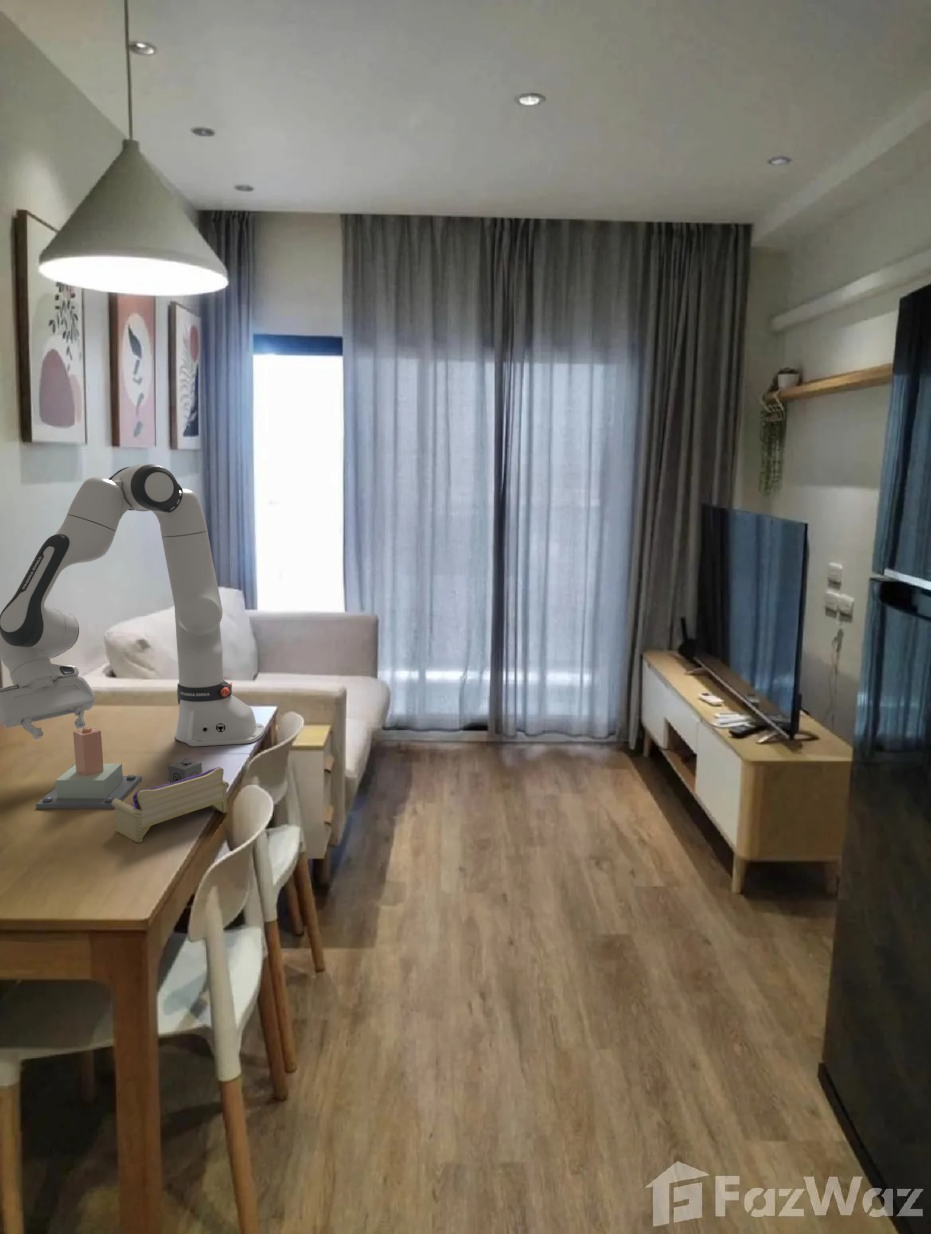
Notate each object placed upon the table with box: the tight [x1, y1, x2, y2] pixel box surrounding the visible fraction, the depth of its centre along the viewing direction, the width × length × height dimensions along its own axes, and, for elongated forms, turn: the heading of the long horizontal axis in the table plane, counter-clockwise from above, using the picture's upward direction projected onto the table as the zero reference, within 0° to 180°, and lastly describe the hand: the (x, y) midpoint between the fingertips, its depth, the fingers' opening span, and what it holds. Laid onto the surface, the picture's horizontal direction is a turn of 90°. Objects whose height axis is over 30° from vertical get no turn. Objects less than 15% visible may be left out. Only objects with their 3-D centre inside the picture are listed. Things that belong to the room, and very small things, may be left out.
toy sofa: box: [112, 766, 230, 843], centre depth 170 cm, size 21×9×10 cm, turn 140°
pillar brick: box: [72, 726, 104, 776], centre depth 183 cm, size 4×4×10 cm
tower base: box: [35, 763, 143, 810], centre depth 184 cm, size 16×16×5 cm
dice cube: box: [167, 758, 203, 784], centre depth 190 cm, size 5×5×5 cm
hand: (60, 731), depth 190 cm, fingers open, 8 cm apart
